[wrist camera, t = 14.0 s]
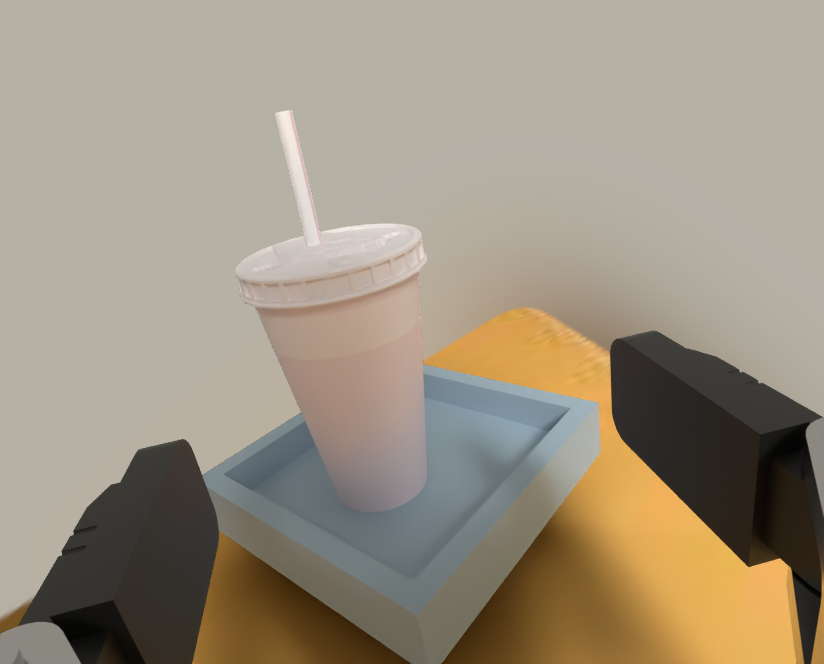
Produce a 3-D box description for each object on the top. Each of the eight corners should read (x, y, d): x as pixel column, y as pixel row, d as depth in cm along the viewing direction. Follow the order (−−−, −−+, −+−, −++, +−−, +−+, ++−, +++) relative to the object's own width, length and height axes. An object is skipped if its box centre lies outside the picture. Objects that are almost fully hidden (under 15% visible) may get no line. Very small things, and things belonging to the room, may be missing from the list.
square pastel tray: (439, 714, 16) (417, 615, 14) (224, 556, 23) (194, 479, 22) (601, 483, 23) (598, 402, 22) (401, 419, 31) (388, 356, 29)
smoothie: (357, 426, 26) (282, 115, 21) (484, 445, 23) (435, 85, 18) (270, 519, 21) (140, 136, 16) (419, 557, 18) (321, 98, 13)
